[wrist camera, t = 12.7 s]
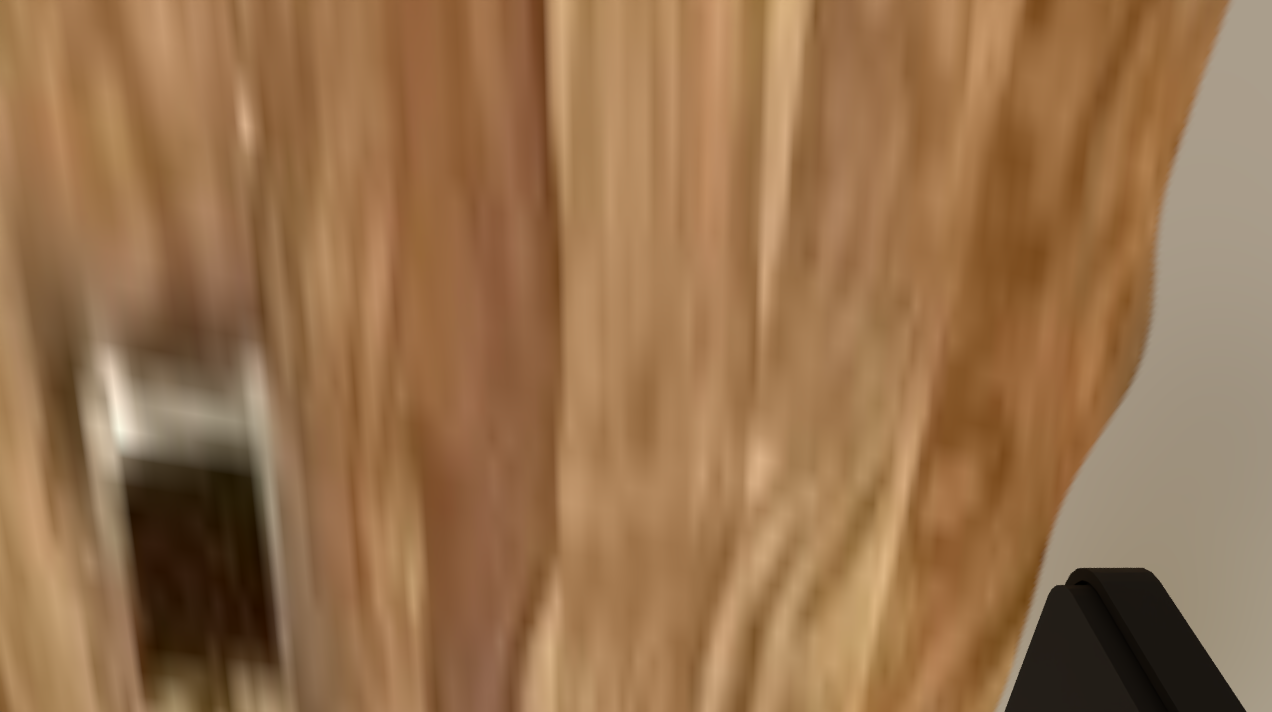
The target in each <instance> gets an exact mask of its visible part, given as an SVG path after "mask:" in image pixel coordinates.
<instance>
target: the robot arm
mask: <svg viewBox="0 0 1272 712" xmlns="http://www.w3.org/2000/svg"><path fill="white" fill-rule="evenodd" d="M1005 712H1246V710H1245V709H1244V708H1243V706H1242V704H1241V703H1240V701H1239V700H1238V698H1237V697H1236V695H1235V694H1234V692H1233V691H1232V689H1231V688H1230V686H1229V685H1228V683H1227V682H1226V680H1225V679H1224V677H1223V676H1222V675H1221V673H1220V671H1219V670H1218V668H1217V667H1216V665H1215V664H1214V662H1213V661H1212V659H1211V658H1210V656H1209V655H1208V653H1207V652H1206V650H1205V649H1204V647H1203V646H1202V644H1201V643H1200V641H1199V640H1198V638H1197V637H1196V635H1195V634H1194V632H1193V631H1192V629H1191V628H1190V626H1189V625H1188V623H1187V622H1186V620H1185V619H1184V617H1183V616H1182V614H1181V613H1180V611H1179V610H1178V608H1177V607H1176V605H1175V604H1174V602H1173V601H1172V599H1171V598H1170V597H1169V595H1168V593H1167V592H1166V590H1165V588H1164V587H1163V585H1162V584H1161V583H1160V581H1159V580H1158V579H1157V578H1156V577H1155V576H1154V574H1153V573H1152V572H1150V571H1148V570H1146V569H1144V568H1079V569H1076V570H1075V571H1074V572H1072V573H1071V575H1070V576H1069V578H1068V580H1067V582H1066V584H1065V585H1057V586H1055V587H1054V588H1053V589H1052V590H1051V592H1050V593H1049V595H1048V598H1047V600H1046V603H1045V606H1044V608H1043V611H1042V614H1041V616H1040V619H1039V621H1038V624H1037V627H1036V630H1035V632H1034V635H1033V637H1032V640H1031V643H1030V645H1029V648H1028V651H1027V653H1026V656H1025V659H1024V661H1023V664H1022V667H1021V669H1020V672H1019V675H1018V677H1017V680H1016V683H1015V685H1014V688H1013V691H1012V693H1011V696H1010V699H1009V701H1008V704H1007V707H1006V709H1005Z"/></svg>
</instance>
